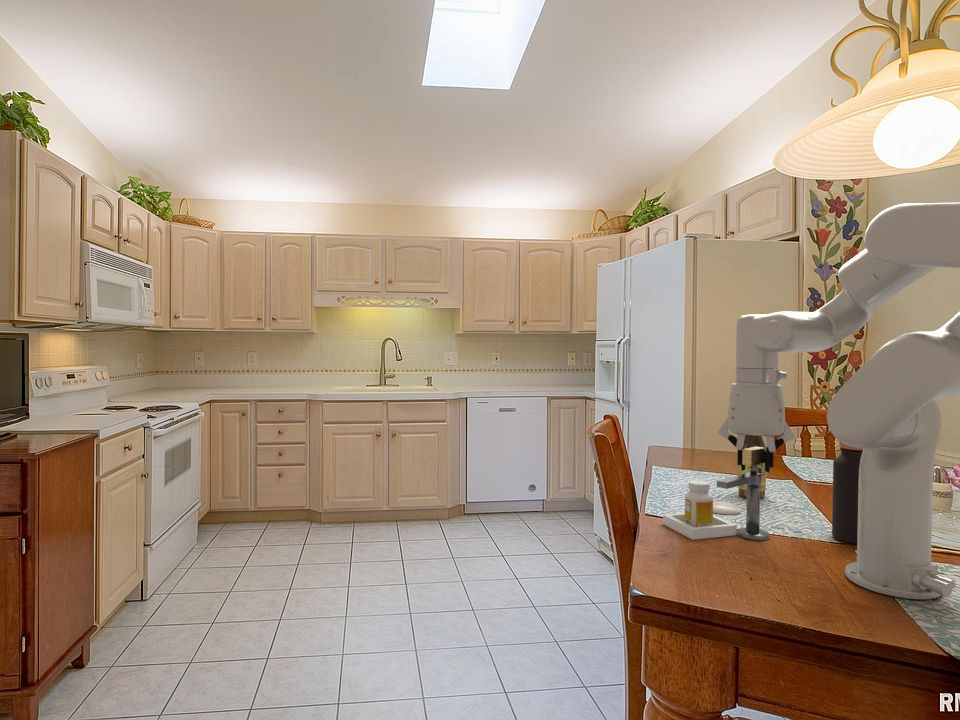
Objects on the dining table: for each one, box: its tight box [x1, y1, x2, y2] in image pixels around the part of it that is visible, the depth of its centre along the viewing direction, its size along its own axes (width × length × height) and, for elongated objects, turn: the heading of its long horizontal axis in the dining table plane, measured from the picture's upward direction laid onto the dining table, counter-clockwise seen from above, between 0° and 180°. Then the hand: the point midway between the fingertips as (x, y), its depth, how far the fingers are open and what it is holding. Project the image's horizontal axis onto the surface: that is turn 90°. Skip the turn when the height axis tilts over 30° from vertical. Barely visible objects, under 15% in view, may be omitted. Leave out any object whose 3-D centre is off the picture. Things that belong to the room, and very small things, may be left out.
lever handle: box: [716, 447, 765, 490], centre depth 112 cm, size 3×14×7 cm, turn 126°
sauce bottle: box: [737, 435, 767, 499], centre depth 144 cm, size 7×6×20 cm
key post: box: [735, 484, 771, 542], centre depth 115 cm, size 6×6×10 cm
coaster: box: [713, 500, 742, 515], centre depth 133 cm, size 8×8×1 cm
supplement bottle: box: [684, 479, 714, 527], centre depth 118 cm, size 5×5×10 cm
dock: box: [662, 512, 737, 541], centre depth 118 cm, size 10×10×2 cm
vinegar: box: [831, 440, 863, 546], centre depth 112 cm, size 7×7×20 cm
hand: (755, 469), depth 115 cm, fingers closed on lever handle, 3 cm apart
